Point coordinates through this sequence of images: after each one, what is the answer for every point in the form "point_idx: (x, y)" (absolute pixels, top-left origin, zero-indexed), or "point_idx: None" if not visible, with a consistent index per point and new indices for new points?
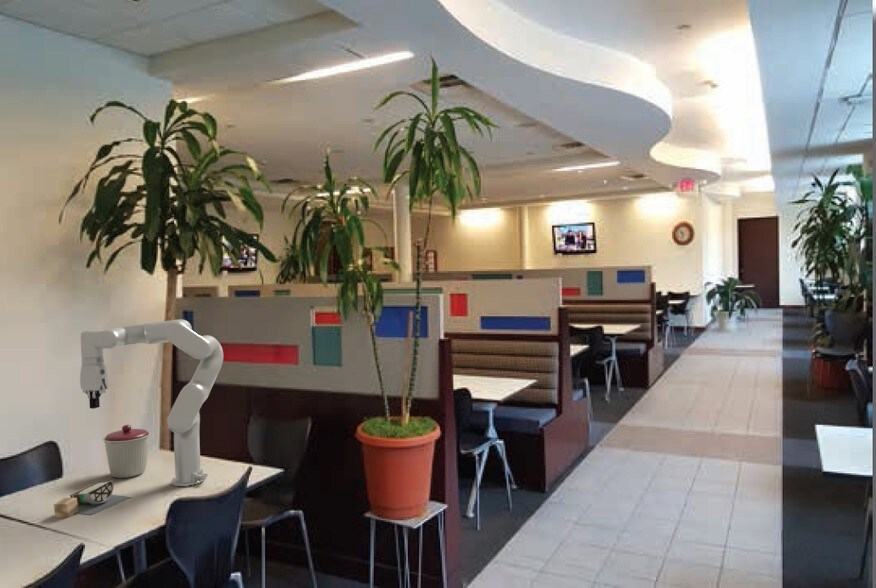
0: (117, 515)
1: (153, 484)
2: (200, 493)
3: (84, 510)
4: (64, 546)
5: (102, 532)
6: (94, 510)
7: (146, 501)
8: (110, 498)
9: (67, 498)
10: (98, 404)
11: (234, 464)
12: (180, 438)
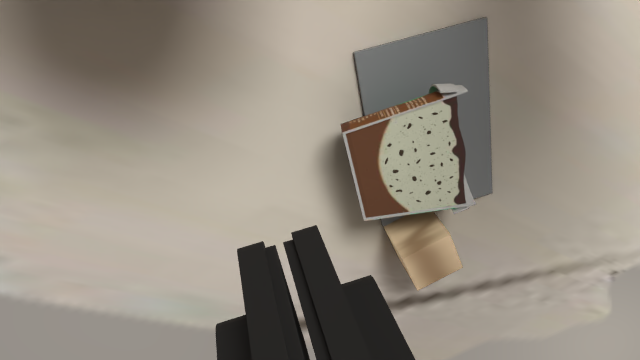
0: (567, 142)
1: None
2: None
3: None
4: (588, 301)
5: (616, 222)
6: (470, 170)
7: (569, 7)
8: (418, 76)
9: (421, 253)
10: (374, 292)
11: None
12: None
